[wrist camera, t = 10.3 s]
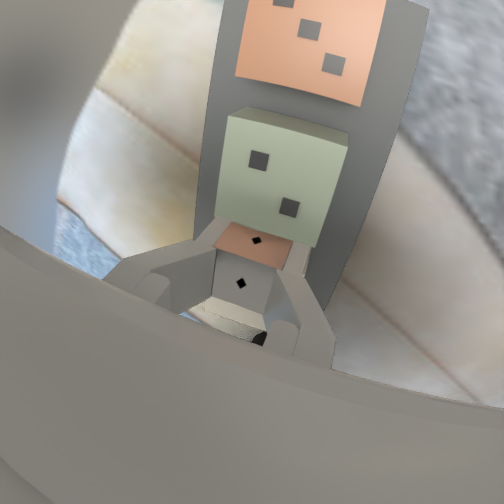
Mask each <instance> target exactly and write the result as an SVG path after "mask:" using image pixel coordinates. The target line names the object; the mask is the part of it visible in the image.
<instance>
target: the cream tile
mask: <svg viewBox="0 0 504 504" xmlns="http://www.w3.org/2000/svg"><path fill="white" fill-rule="evenodd" d="M293 242H294V241H293ZM311 248H312V247H310V248H309V252H308V255H307V259H306V262H305V265H304V269H303V272H302V275H301V277H302V278H304V277H305V273H306V269H307V265H308V260H309V256H310V252H311ZM204 310H205V311H208V312H211V313H214V314H216V315H219V316H222V317H225V318H228V319H230V320H233V321H236V322H239V323H242V324H245V325H248V326H251V327H254V328H257V329H260V330H263V331H266V327H265V324H264V320H263V315H262V314H259V313H256V312H254V311H251V310H248V309H246V308H243V307H241V306H238V305H236V304H233V303H230V302H227V301H224V300H221V299H218V298H215V297H212V296H211V297H210V298H209V299H207V300H205V302H204ZM266 332H267V331H266Z"/></svg>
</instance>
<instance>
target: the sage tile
mask: <svg viewBox="0 0 504 504" xmlns="http://www.w3.org/2000/svg"><path fill="white" fill-rule="evenodd" d="M347 149H348V133H345V132H342V131H339V130H336V129H333V128H329V127H326V126H323V125H319V124H316V123H312V122H309V121H305V120H301V119H298V118H294V117H290V116H286V115H282V114H278V113H274V112H270V111H265V110H261V109H257V108H252V107H245V108H243V109H241V110H239V111H237V112H235V113H233V114H230V115H228V120H227V126H226V133H225V140H224V146H223V153H222V160H221V167H220V174H219V182H218V189H217V197H216V205H215V212H214V217H218V216H220V217H223V218H226V219H230V220H232V221H235V222H238V223H241V224H244V225H247V226H250V227H253V228H256V229H258V230H261V231H263V232H266V233H269V234H273V235H276V236H279V237H282V238H286V239H289V240H292V241H296V242H299V243H303V244H306V245H309V246H310V247H313V248H315V246H316V243H317V241H318V238H319V235H320V232H321V229H322V226H323V223H324V220H325V217H326V215H327V212H328V209H329V206H330V203H331V200H332V197H333V194H334V190H335V187H336V184H337V181H338V178H339V175H340V172H341V169H342V165H343V162H344V159H345V156H346V153H347Z"/></svg>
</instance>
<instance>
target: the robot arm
mask: <svg viewBox="0 0 504 504" xmlns="http://www.w3.org/2000/svg"><path fill="white" fill-rule="evenodd" d="M309 248H310V246H309V245H306V244H303V243H299V242H296V241H294V242H293V241H292V240H289V239H286V238H282V237H279V236H276V235H273V234H269V233H266V232H263V231H261V230H258V229H256V228H253V227H250V226H247V225H244V224H241V223H238V222H235V221H232V220H230V219H226V218H223V217H220V216H218V217H215V218H214V220H213V221H212V222H211V223H210V224H209V225H208V226H207V228H206V229H205V230H204V231H203V232H202V233H201V235H200V236H199V237H198V238H197V239H196V240H195V241H194V240H187V241H184V242H180V243H176V244H173V245H169V246H166V247H162V248H159V249H155V250H151V251H148V252H144V253H141V254H137V255H134V256H131V257H127V258H124V259H123V260H121V261H120V262H119V263H118V264H117V265H116V266H115V267H114V268H113V269H112V270H111V271H110V272H109V273H108V274H107V275H106V276H105V277H104V278H103V279H102V280H101V279H99V278H96V277H94V276H92V275H90V274H88V273H86V272H84V271H82V270H80V269H78V268H76V267H74V266H72V265H70V264H68V263H67V262H65V261H63V260H61V259H59V258H57V257H55V256H53V255H51V254H49V253H47V252H46V251H44V250H42V249H40V248H38V247H37V246H35V245H33V244H31V243H29V242H28V241H26V240H24V239H22V238H20V237H19V236H17V235H15V234H13V233H12V232H10V231H8V230H7V229H5V228H3V227H2V226H0V504H504V408H497V407H491V406H485V405H479V404H474V403H468V402H463V401H458V400H452V399H448V398H443V397H438V396H433V395H429V394H424V393H420V392H416V391H411V390H407V389H403V388H399V387H395V386H391V385H387V384H383V383H379V382H375V381H371V380H368V379H364V378H360V377H357V376H353V375H350V374H346V373H343V372H339V371H336V370H333V369H331V366H332V360H333V355H334V349H335V343H336V335H335V333H334V332H333V330H332V328H331V326H330V324H329V322H328V320H327V318H326V316H325V314H324V313H323V311H322V309H321V307H320V305H319V303H318V301H317V299H316V297H315V296H314V294H313V292H312V290H311V288H310V286H309V284H308V283H307V281H306V279H305V278H302V277H301V275H302V272H303V269H304V265H305V262H306V259H307V255H308V252H309ZM211 296H212V297H215V298H218V299H221V300H224V301H227V302H230V303H233V304H236V305H238V306H241V307H243V308H246V309H248V310H251V311H254V312H256V313H259V314H262V315H263V320H264V324H265V327H266V331H267V337H266V339H265V342H264V344H263V347H262V346H259V345H257V344H254V343H251V342H248V341H246V340H243V339H240V338H237V337H235V336H232V335H229V334H227V333H224V332H221V331H219V330H216V329H214V328H211V327H209V326H206V325H203V324H201V323H198V322H196V321H193V320H191V319H188V318H186V317H184V316H181V315H179V314H180V313H182V312H184V311H186V310H188V309H190V308H192V307H193V306H195V305H197V304H199V303H201V302H203V301H205V300H207V299H209V298H210V297H211Z"/></svg>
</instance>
